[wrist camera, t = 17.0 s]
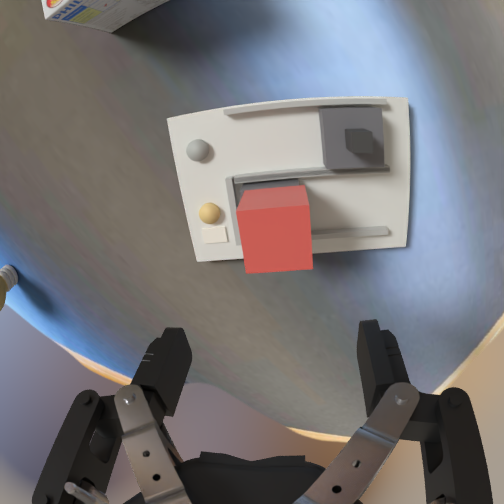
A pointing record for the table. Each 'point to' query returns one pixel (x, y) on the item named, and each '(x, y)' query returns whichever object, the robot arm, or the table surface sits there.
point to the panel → (298, 168)
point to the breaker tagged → (268, 184)
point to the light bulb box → (97, 12)
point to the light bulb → (6, 282)
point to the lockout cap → (275, 229)
